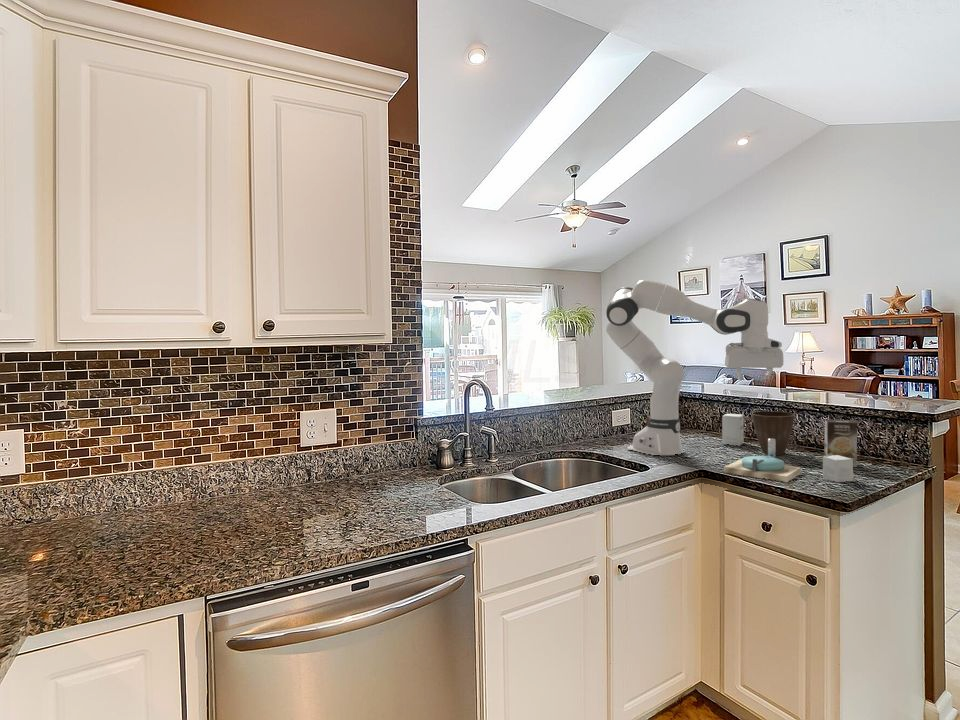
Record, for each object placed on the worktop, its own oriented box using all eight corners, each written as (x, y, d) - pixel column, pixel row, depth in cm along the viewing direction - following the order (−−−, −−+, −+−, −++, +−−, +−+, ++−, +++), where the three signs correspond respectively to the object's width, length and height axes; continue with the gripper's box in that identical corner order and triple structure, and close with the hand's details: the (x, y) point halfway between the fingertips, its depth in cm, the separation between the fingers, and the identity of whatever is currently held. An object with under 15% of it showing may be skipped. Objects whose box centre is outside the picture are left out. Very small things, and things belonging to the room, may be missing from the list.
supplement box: (740, 446, 230) (740, 416, 229) (721, 444, 234) (721, 415, 234) (744, 442, 236) (743, 414, 235) (726, 441, 240) (725, 413, 240)
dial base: (724, 472, 190) (724, 455, 190) (740, 464, 200) (740, 448, 200) (786, 482, 176) (786, 464, 175) (800, 473, 185) (800, 456, 185)
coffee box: (826, 466, 193) (826, 421, 193) (823, 462, 199) (823, 418, 198) (857, 468, 190) (857, 422, 189) (853, 463, 195) (853, 419, 194)
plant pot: (744, 452, 218) (743, 413, 217) (766, 447, 225) (766, 409, 224) (780, 459, 205) (779, 417, 204) (802, 454, 212) (802, 413, 212)
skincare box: (853, 481, 174) (853, 458, 174) (836, 482, 174) (836, 460, 173) (838, 476, 180) (838, 454, 180) (822, 477, 180) (822, 455, 179)
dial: (754, 457, 200) (753, 436, 199) (792, 463, 190) (792, 440, 190) (735, 466, 188) (735, 444, 188) (776, 472, 179) (776, 449, 178)
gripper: (729, 343, 197) (728, 380, 198) (786, 342, 197) (785, 380, 198) (722, 342, 204) (721, 379, 204) (777, 342, 203) (776, 379, 204)
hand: (753, 379), depth 201 cm, fingers open, 8 cm apart
